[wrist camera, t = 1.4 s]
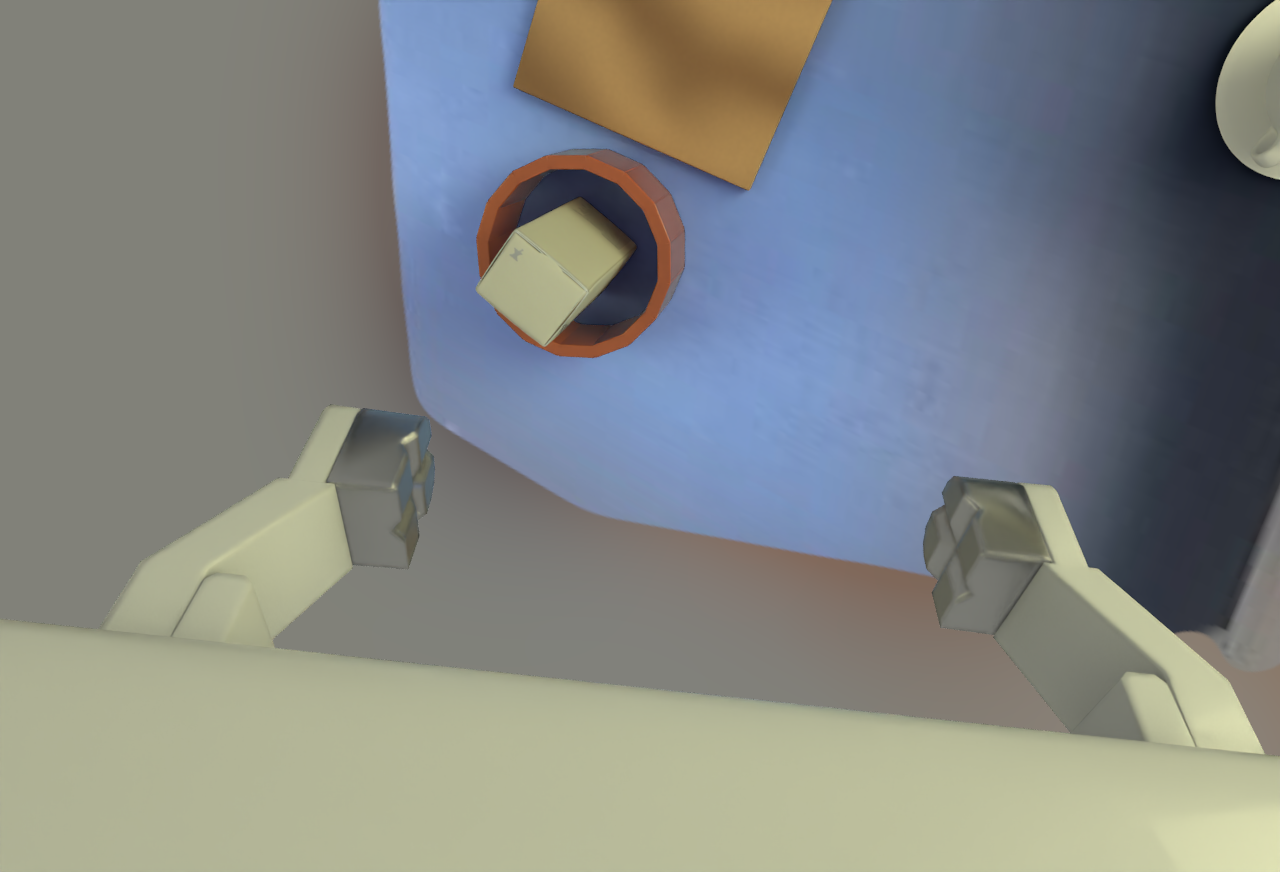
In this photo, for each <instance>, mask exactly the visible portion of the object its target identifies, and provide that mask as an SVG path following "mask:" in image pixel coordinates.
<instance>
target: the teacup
mask: <svg viewBox="0 0 1280 872" xmlns="http://www.w3.org/2000/svg"><path fill="white" fill-rule="evenodd" d="M1216 117H1217V122H1218V126H1219V129H1220V132H1221V135H1222V137H1223V139H1224V141H1225V143H1226V144H1227V146H1228V148H1229V149H1230V150H1231V152H1232V153H1233V154H1234V155H1235V156H1236V157H1237V158H1238V159H1239V160H1240V161H1241V162H1242V163H1243V164H1245V165H1246V166H1248V167H1249V168H1251V169H1252V170H1254V171H1256V172H1258V173H1260V174H1263V175H1265V176H1268V177H1272V178H1275V179H1280V0H1275V1H1274V2H1272V3H1271V4H1270V5H1269V6H1267V7H1266V8H1265V9H1264V10H1263V11H1262V12H1261V13H1260V14H1258V15H1257V16H1256V17H1255V18H1254V19H1253V20H1252V21H1251V23H1250V24H1249V25H1248V26H1247V27H1246V28H1245V30H1244V31H1243V32H1242V34H1241V35H1240V36H1239V38H1238V39H1237V40H1236V42H1235V44H1234V45H1233V47H1232V49H1231V50H1230V52H1229V54H1228V56H1227V58H1226V60H1225V62H1224V65H1223V68H1222V71H1221V74H1220V77H1219V81H1218V85H1217V92H1216Z"/></svg>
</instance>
